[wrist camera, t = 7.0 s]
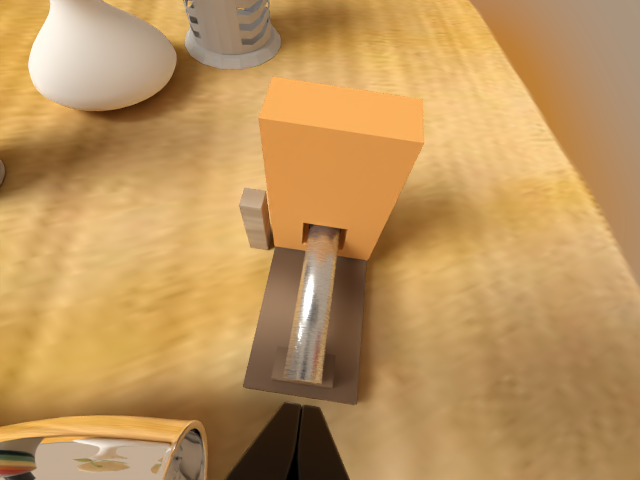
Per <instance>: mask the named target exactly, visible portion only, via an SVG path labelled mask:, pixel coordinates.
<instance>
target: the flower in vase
mask: <svg viewBox="0 0 640 480" xmlns="http://www.w3.org/2000/svg"><path fill="white" fill-rule="evenodd" d="M50 4H51V6H50V12H49V15H48V17H47V19H46V21H45V23H44V25H43V26H42V28H41V30H40V32H39V34H38V36H37V38H36V40H35V42H34V44H33V46H32V50H31V54H30V58H29V63H28V68H29V72H30V76H31V79H32V82H33V84H34V86H35V88H36V89H37V90H38V91H39V92H40V93H41V94H42V95H43V96H45V97H46V98H48V99H50V100H52V101H54V102H56V103H59V104H61V105H63V106H66V107H69V108H73V109H78V110H85V111H106V110H114V109H119V108H124V107H127V106H131V105H134V104H137V103H139V102H141V101H144V100H146V99H148V98H149V97H151V96H153V95H154V94H156V93H157V92H159V91H160V90H161V89H162V88H163V87H164V86H165V85H166V84H167V83H168V82H169V80H170V79H171V77H172V75H173V72H174V69H175V66H176V61H177V56H176V52H175V49H174V47H173V45H172V44H171V43H170V41H169V40H168V39H167V38H166V36H165V35H164V34H163V33H162V32H161V31H160V30H158V29H157V28H155V27H153V26H152V25H150V24H149V23H147V22H146V21H144V20H142V19H140V18H138V17H136V16H134V15H132V14H129V13H127V12H125V11H123V10H120V9H118V8H116V7H114V6H111V5H109V4H107V3H105V2H103V1H102V0H50Z"/></svg>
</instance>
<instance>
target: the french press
mask: <svg viewBox="0 0 640 480" xmlns="http://www.w3.org/2000/svg"><path fill="white" fill-rule="evenodd" d="M183 1H184V0H183ZM187 1H188V0H185V1H184V6H185V8H186V13H187V12H188V13H187V17H188V20H189V22H190V29H189V31H188V32H187V34H186V39H185V44H184V45H185V47H186V49H187V51H188V53H189V55H190V56H192V57H193V58H195V59H196V60H198V61H199V62H201V63H202V64H205V65H208V66H212V67H215V68H219V69H245V68H250V67H254V66H258V65H261V64H263V63H264V62H266V61H268V60H270V59H271V58H273V57H274V56H275V55H276V53H277V52H278V50H279V49H280V47H281V36H280V35H279V33H278V32H277V31H276V29H275V28H274V27H273V26H272V25H271V21H270V10H269V5H270V3H269V0H189V1H193V2H192V4H191V6H190V7H187ZM267 2H268V8H267V7H265V5H266V3H267ZM237 8H244V9H245V10H242V9H237ZM188 14H189V16H188Z"/></svg>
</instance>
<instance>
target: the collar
mask: <svg viewBox="0 0 640 480" xmlns="http://www.w3.org/2000/svg"><path fill="white" fill-rule="evenodd" d="M258 119H259V127H260V135H261V143H262V151H263V159H264V166H265V174H266V182H267V190H268V198H269V206H270V214H271V222H272V230H273V238H274V246H277V247H284V248H290V249H297V250H303V251H306V245H307V240H308V234H309V224H315V225H322V226H328V227H335V228H341V233H340V237H339V245H338V254H337V256H342V257H349V258H355V259H362V260H368V259H369V257H370V255H371V253H372V251H373V249H374V247H375V245H376V243H377V240H378V238H379V236H380V234H381V232H382V230H383V228H384V226H385V224H386V222H387V220H388V218H389V215H390V213H391V211H392V209H393V207H394V205H395V203H396V201H397V199H398V197H399V195H400V193H401V190H402V188H403V186H404V184H405V182H406V180H407V178H408V176H409V174H410V172H411V170H412V168H413V165H414V163H415V161H416V159H417V157H418V155H419V153H420V151H421V149H422V147H423V145H424V120H423V99H418V98H411V97H405V96H398V95H392V94H385V93H378V92H372V91H365V90H358V89H352V88H345V87H338V86H332V85H325V84H318V83H312V82H305V81H299V80H292V79H285V78H279V77H272V79H271V82H270V85H269V88H268V91H267V94H266V97H265V100H264V103H263V106H262V109H261V112H260V115H259V118H258Z"/></svg>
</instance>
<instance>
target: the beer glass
mask: <svg viewBox="0 0 640 480" xmlns="http://www.w3.org/2000/svg"><path fill="white" fill-rule="evenodd" d="M207 469H208V446H207V437H206V432H205V429H204V426H203V424H202V423H201V422H200V421H198V420H176V419H165V418H155V417H141V416H120V415H90V416H67V417H59V418H51V419H44V420H36V421H29V422H23V423H18V424H12V425H7V426H1V427H0V480H207Z"/></svg>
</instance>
